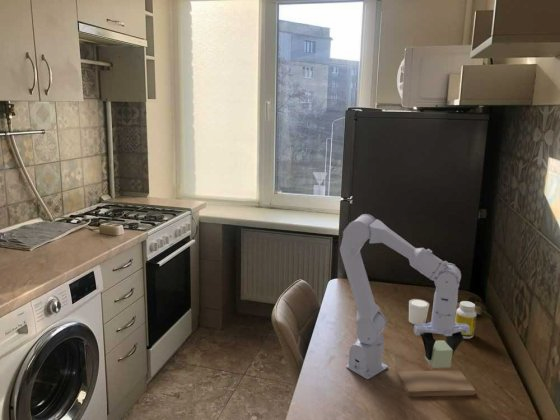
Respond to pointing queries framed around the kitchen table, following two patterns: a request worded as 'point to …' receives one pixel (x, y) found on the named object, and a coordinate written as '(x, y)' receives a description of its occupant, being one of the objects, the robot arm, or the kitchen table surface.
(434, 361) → the sage cube
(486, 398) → the kitchen table surface
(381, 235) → the robot arm
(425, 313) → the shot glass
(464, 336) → the pill bottle
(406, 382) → the walnut board
